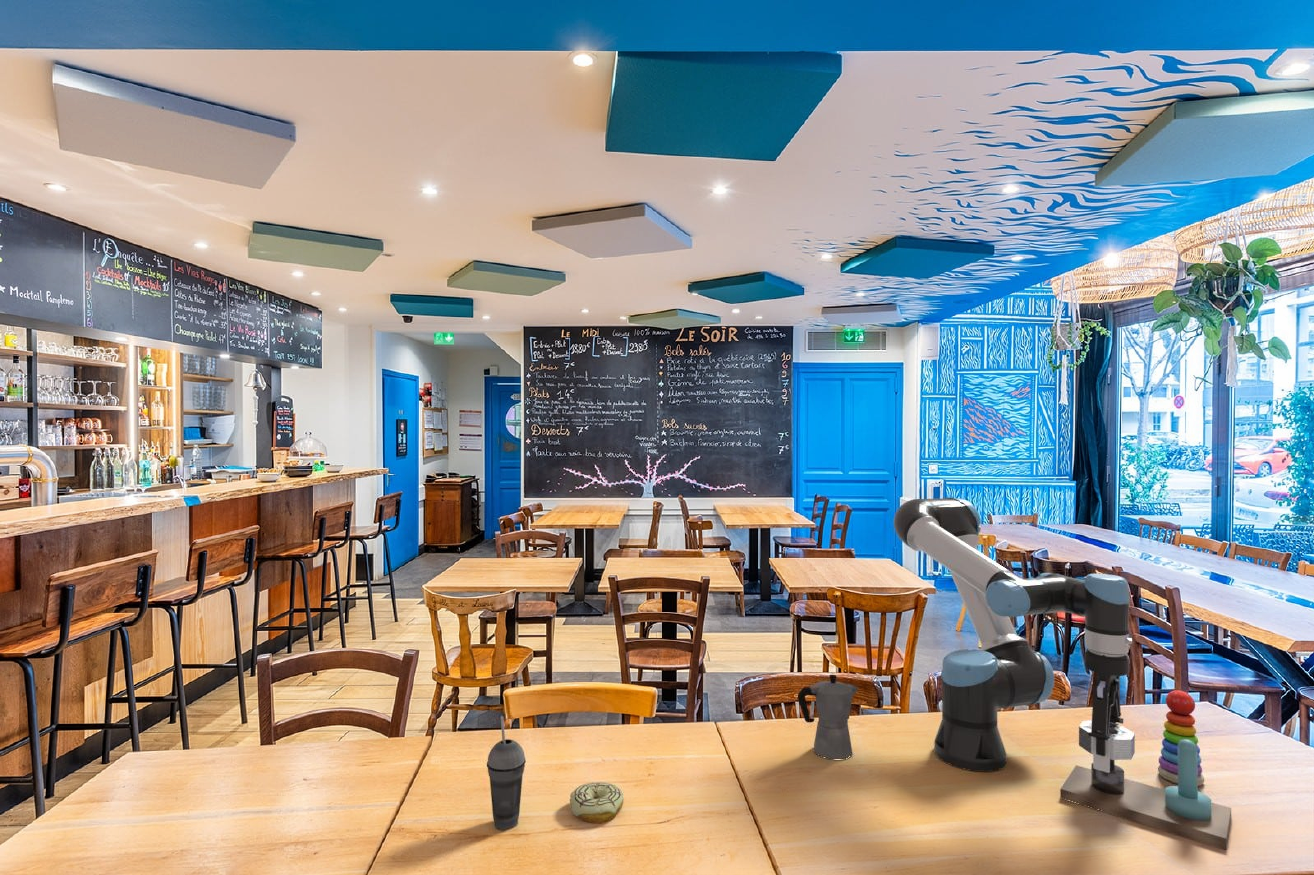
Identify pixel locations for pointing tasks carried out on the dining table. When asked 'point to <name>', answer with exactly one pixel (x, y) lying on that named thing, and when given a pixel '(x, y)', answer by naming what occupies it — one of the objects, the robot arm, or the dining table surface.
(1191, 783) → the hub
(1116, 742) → the steel ring
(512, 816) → the beverage cup
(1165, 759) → the stacking toy
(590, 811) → the decorated donut
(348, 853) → the dining table surface
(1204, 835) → the walnut board
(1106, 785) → the stand rod
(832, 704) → the coffeepot
